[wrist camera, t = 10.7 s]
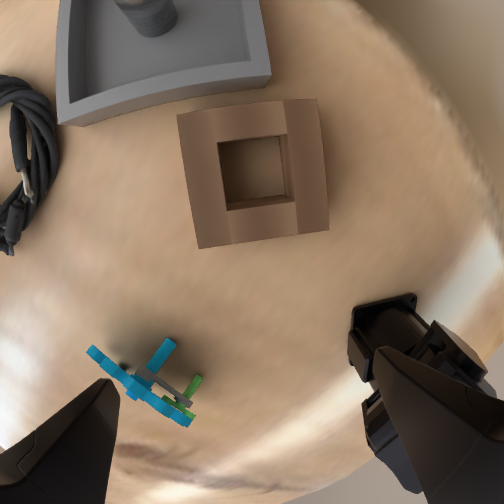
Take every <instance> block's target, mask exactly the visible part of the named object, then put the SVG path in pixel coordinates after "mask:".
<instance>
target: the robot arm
mask: <svg viewBox="0 0 504 504" xmlns="http://www.w3.org/2000/svg"><path fill="white" fill-rule="evenodd" d="M411 299H412V300H411ZM416 303H417V296H416V295H415V294H414V293H410V294H406V295H402V296H398V297H394V298H390V299H386V300H382V301H378V302H373V303H369V304H365V305H360V306H357V307H355V308H354V309H353V310H352V322H351V330H350V331H349V334H348V349H347V354H348V356H349V363H350V365H351V366H354V367H355V369H356V371H357V372H358V374H359V376H360V378H361V380H362V381H363V382H364V383H366V382H369V383H370V385H371V387H372V388H373V390H374V393H373V394H372V395H371V396H370V397H369V398H368V399H365V400H364V401H363V402H362V411H363V418H364V426H365V434H366V439H367V442H368V446H369V447H370V448H371V449H372V451H373V452H374V454H375V456H376V457H377V458H378V459H380V460H381V461H382V462H384V463H385V464H386V465H387V466H388V467H389V468H390V469H391V470H392V472H393V473H394V474H395V476H396V477H397V478H398V480H399V482H400V483H401V485H402V486H403V487H404V488H405V489H406V490H408V491H410V492H413V493H415V494H419V493H420V492H422V491H423V492H424V494H425V497H426V499H427V502H428V504H504V401H503V400H500V399H497V395H496V391H495V390H494V389H493V387H492V386H491V385H490V384H489V383H488V382H487V381H486V380H485V379H484V376H485V375H486V374H487V373H488V370H487V369H486V367H485V366H484V364H483V362H482V361H481V359H480V358H479V356H478V355H477V353H476V352H475V351H474V350H473V349H472V348H471V347H470V346H469V345H467V344H466V343H465V342H464V341H463V340H462V339H461V338H460V337H459V336H457V335H456V334H454V333H453V332H452V331H450V330H449V329H447V328H446V327H444V326H443V325H442V324H440V323H439V322H437V321H436V320H434V321H433V322H432V324H431V325H430V326H431V327H430V326H429V325H428V324H427V323H426V322H425V321H424V320H423V319H422V318H421V317H420V316H419V315H418V314H417V313H416V312H415V309H416ZM358 311H360V312H359V313H358V314H357V312H358ZM119 408H120V395H119V393H118V391H117V389H116V388H115V386H114V384H113V382H112V380H111V379H108V378H100V379H98V380H97V381H96V382H94V383H93V384H92V385H91V386H89V387H88V388H87V389H86V390H84V391H83V392H82V393H81V394H79V395H78V396H77V397H76V398H74V399H73V400H72V401H71V402H69V403H68V404H67V405H66V406H64V407H63V408H62V409H60V410H59V411H58V412H57V413H55V414H54V415H53V416H52V417H50V418H49V419H48V420H47V421H45V422H44V423H43V424H42V425H40V426H39V427H38V428H36V430H34V431H33V432H31V433H30V434H29V435H28V436H26V437H25V438H24V439H22V440H21V441H20V442H18V443H17V444H15V445H14V446H12V447H11V448H9V449H7V450H6V451H4V452H3V453H1V454H0V504H105V498H106V491H107V485H108V478H109V473H110V467H111V462H112V456H113V451H114V446H115V441H116V436H117V427H118V417H119Z"/></svg>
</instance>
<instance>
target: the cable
mask: <svg viewBox="0 0 504 504" xmlns="http://www.w3.org/2000/svg"><path fill="white" fill-rule="evenodd" d="M8 102H12V103H13V105H12V107H11V120H10V127H9V129H10V138H11V144H12V153H13V158H14V163H15V168H16V171H17V172H21V176H22V179H23V180H22V181H21V182H20V184H19V185H18V186H17V188H16V189H15V190H14V191H13V192H12V194H11V195H10V196H9V197H8V198H7V199H6V200H5V202H4V203H3V204H2V205H0V251H3V252H5V253H6V255H10V256H14V249H13V246H14V245H15V244H16V243H17V241H19V240H20V237H21V233H22V231H24V230H25V229H26V228H27V227H28V225H29V224H30V222H31V220H32V218H33V215H34V212H35V210H36V209H37V208H38V207H39V206H40V205H41V203H42V201H43V199H44V196H45V194H46V192H47V191H48V189H49V188H50V187H51V185H52V183H53V182H54V179H55V177H56V173H57V168H58V152H57V147H56V131H55V115H54V111H53V108H52V105H51V103H50V102H49V100H48V99H47V98H46V97H45V96H44V95H43V94H41V93H39V92H37V91H35V90H33V88H32V87H31V86H30V85H29V84H28V83H27V82H26V81H24V80H22V79H19V78H16V77H8V76H6V75H1V74H0V107H1V106H3V105H5V104H6V103H8ZM23 113H25V114H26V117H27V119H28V122H29V125H30V128H31V131H32V134H33V136H32V150H31V153H32V155H31V159H30V160H29V159H28V158H27V137H26V135H27V128H26V123H25V118H24V117H23Z"/></svg>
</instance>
